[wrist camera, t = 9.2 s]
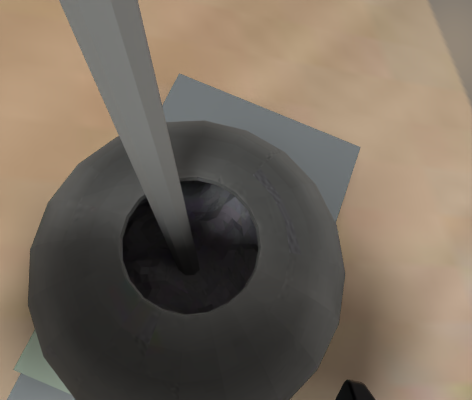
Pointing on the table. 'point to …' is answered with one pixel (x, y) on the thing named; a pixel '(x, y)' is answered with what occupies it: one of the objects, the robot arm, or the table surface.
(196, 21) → the table surface
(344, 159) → the socket board
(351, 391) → the robot arm
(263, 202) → the beverage cup
